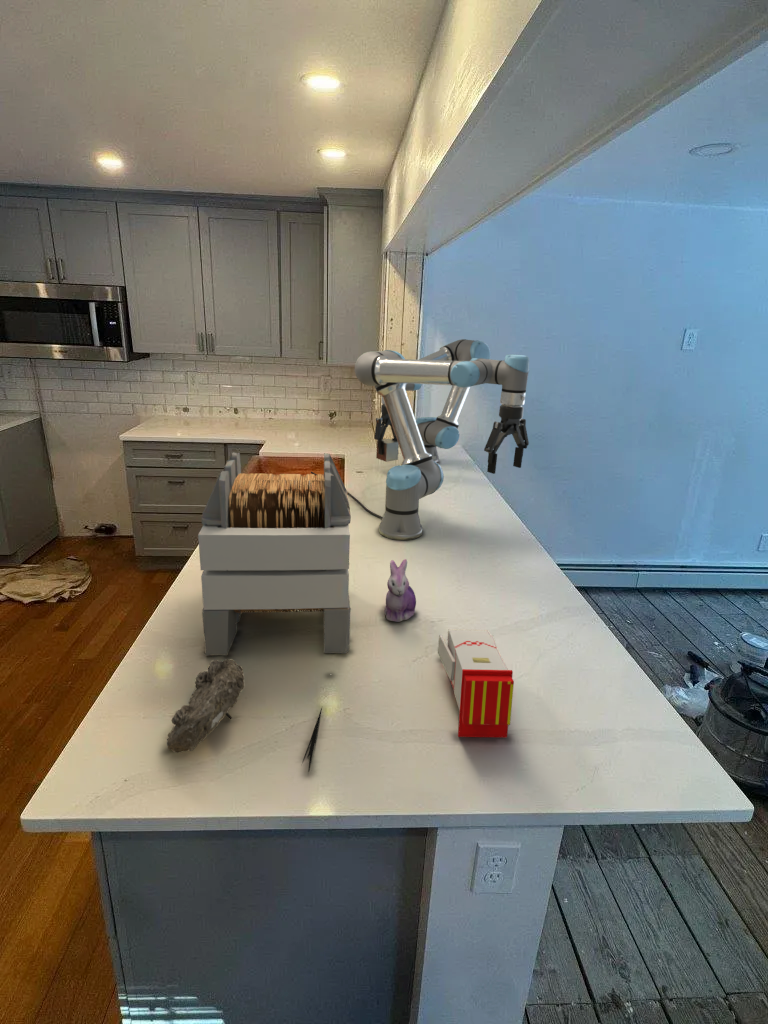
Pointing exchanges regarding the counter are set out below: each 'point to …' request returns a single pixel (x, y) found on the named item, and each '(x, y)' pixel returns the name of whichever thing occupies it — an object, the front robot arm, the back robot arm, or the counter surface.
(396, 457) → the grey beige block
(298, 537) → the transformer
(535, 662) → the counter surface
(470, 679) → the toy
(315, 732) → the feather
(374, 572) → the counter surface
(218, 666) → the fossil
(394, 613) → the figurine
